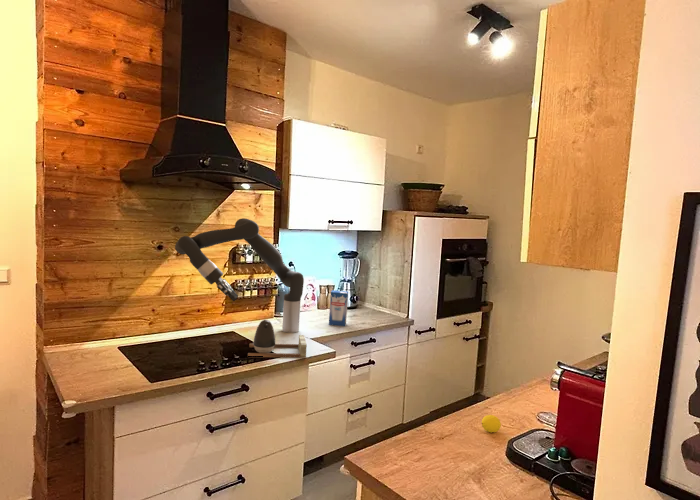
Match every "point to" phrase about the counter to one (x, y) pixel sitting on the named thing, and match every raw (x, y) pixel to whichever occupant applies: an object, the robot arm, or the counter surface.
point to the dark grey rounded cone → (264, 337)
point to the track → (301, 346)
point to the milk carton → (338, 308)
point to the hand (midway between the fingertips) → (235, 298)
